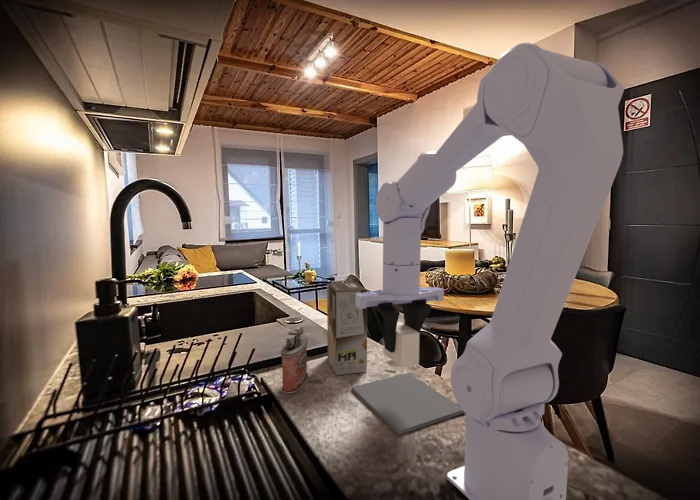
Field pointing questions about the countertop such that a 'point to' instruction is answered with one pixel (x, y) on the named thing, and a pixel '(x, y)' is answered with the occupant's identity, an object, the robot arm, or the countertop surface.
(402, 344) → the beige rectangular block
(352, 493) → the countertop surface
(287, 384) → the lighter
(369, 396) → the mat
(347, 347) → the coffee box
